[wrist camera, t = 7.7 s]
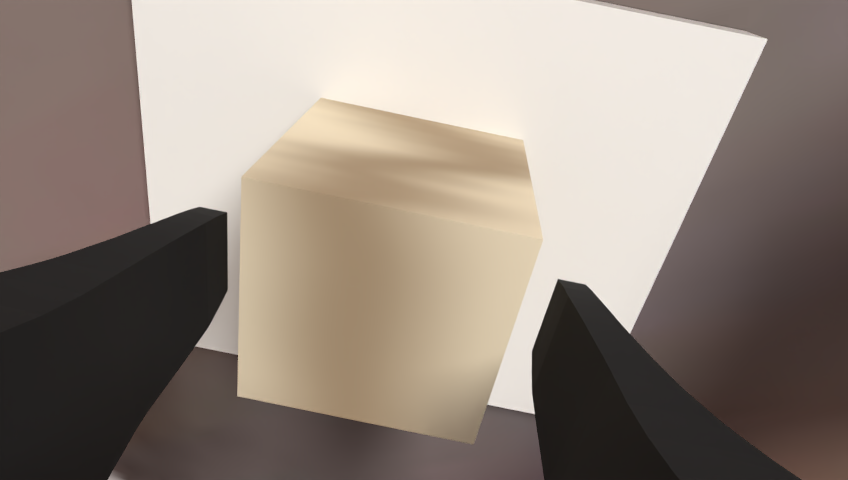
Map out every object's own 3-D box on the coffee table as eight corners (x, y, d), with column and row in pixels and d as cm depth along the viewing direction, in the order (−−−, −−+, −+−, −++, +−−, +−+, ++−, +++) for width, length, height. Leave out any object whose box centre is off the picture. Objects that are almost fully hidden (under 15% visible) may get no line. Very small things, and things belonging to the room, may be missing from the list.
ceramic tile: (744, 30, 13) (768, 38, 12) (581, 397, 19) (587, 424, 18) (153, -89, 13) (124, -92, 12) (178, 316, 19) (160, 339, 17)
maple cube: (522, 140, 13) (543, 239, 9) (476, 303, 16) (473, 444, 11) (321, 97, 13) (241, 176, 9) (305, 268, 16) (237, 396, 11)
